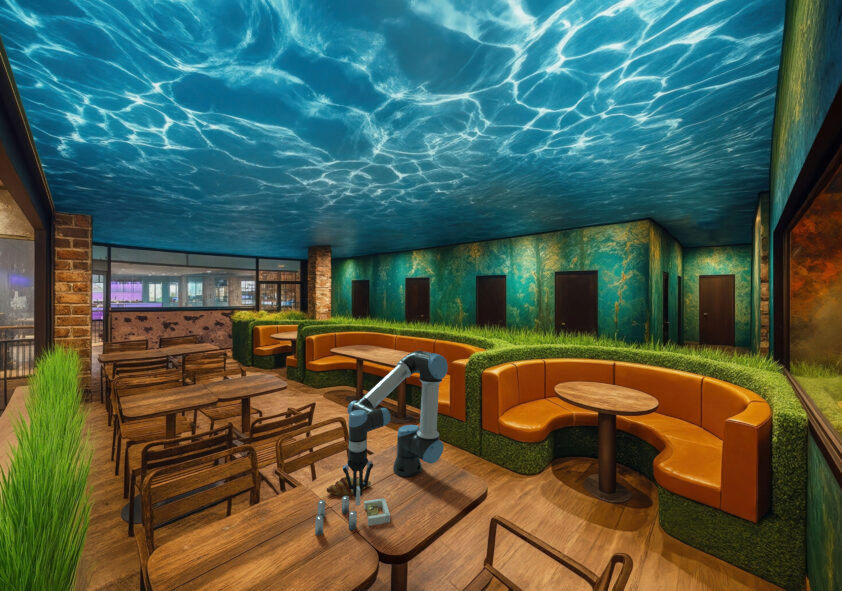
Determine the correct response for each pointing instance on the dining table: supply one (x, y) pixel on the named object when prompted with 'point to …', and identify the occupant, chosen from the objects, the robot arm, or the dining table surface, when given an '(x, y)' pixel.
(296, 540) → the dining table surface
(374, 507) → the gold round piece
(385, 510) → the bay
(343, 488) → the croissant
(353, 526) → the spacers
